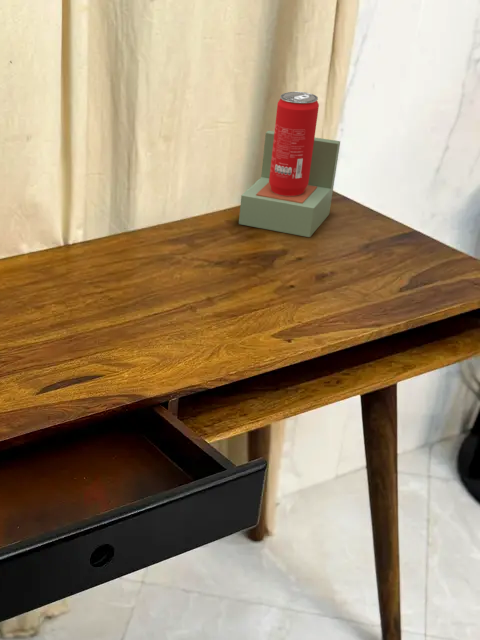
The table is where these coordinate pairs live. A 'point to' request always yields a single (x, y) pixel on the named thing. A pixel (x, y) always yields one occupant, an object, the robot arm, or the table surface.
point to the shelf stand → (292, 211)
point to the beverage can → (293, 143)
